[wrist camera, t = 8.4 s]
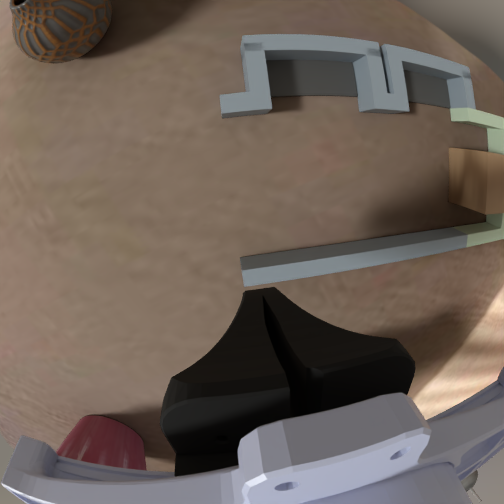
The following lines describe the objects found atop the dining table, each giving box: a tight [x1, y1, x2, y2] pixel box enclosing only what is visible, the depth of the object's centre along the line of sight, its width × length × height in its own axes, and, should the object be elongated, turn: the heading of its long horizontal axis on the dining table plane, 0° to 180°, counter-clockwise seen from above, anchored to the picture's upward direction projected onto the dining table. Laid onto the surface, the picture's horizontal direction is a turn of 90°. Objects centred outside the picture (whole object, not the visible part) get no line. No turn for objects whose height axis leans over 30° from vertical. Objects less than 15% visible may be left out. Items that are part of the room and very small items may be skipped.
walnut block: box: [448, 148, 504, 215], centre depth 18 cm, size 5×5×5 cm
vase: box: [10, 0, 112, 63], centre depth 10 cm, size 7×7×9 cm
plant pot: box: [56, 415, 147, 471], centre depth 22 cm, size 14×14×13 cm
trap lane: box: [220, 34, 504, 287], centre depth 18 cm, size 16×27×2 cm, turn 96°
